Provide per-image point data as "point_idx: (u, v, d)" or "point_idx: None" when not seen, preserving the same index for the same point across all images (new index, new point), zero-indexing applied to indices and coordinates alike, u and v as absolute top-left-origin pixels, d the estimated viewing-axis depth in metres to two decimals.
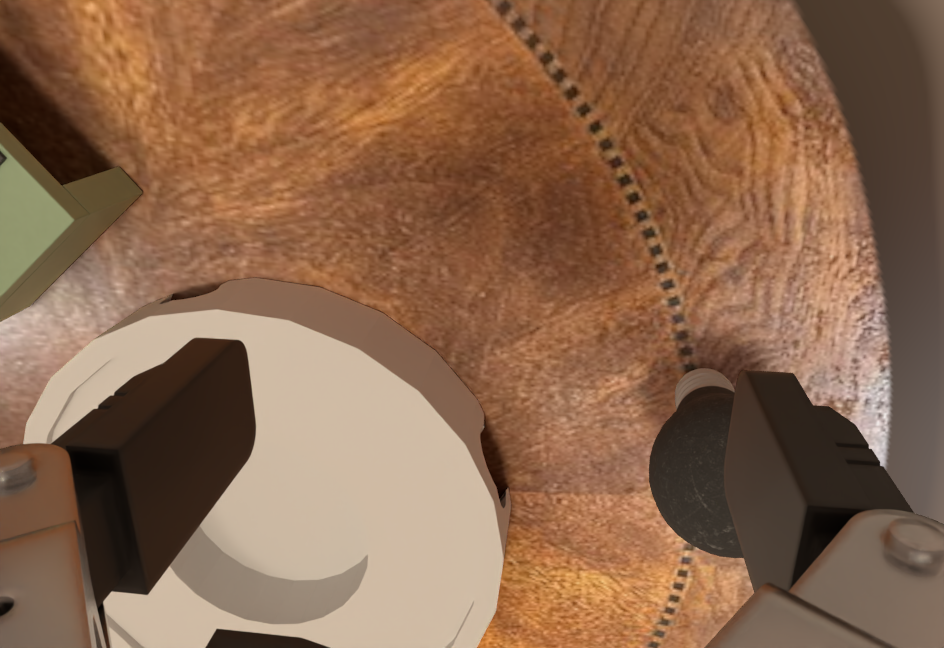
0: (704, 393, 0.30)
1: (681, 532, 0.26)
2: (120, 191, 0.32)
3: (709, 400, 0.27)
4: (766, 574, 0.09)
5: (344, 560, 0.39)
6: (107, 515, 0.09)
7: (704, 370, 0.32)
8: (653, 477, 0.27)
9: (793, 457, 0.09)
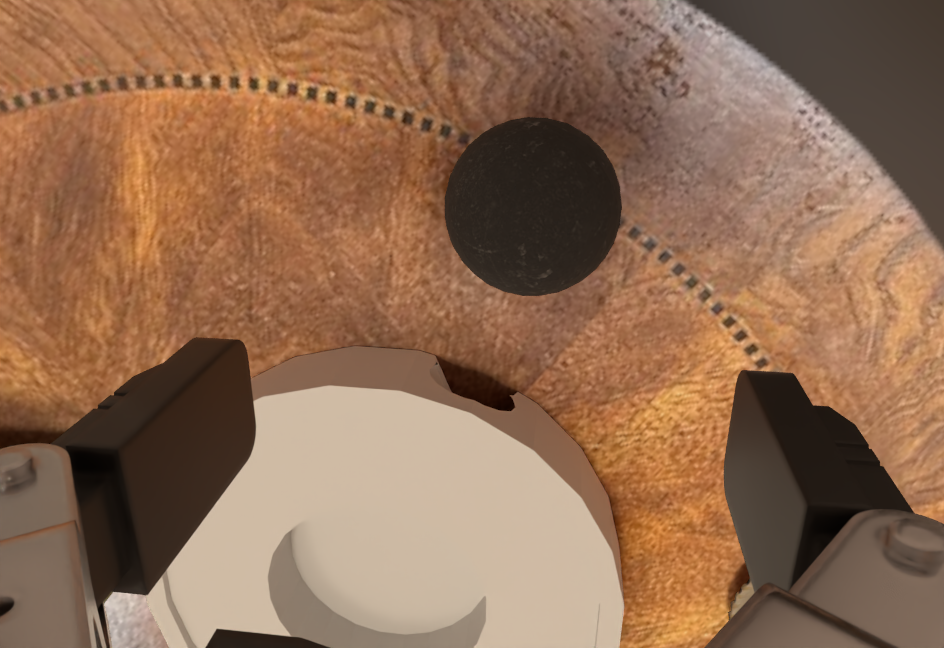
0: None
1: (524, 291, 0.23)
2: None
3: None
4: (766, 574, 0.09)
5: None
6: (107, 515, 0.09)
7: None
8: None
9: (793, 457, 0.09)
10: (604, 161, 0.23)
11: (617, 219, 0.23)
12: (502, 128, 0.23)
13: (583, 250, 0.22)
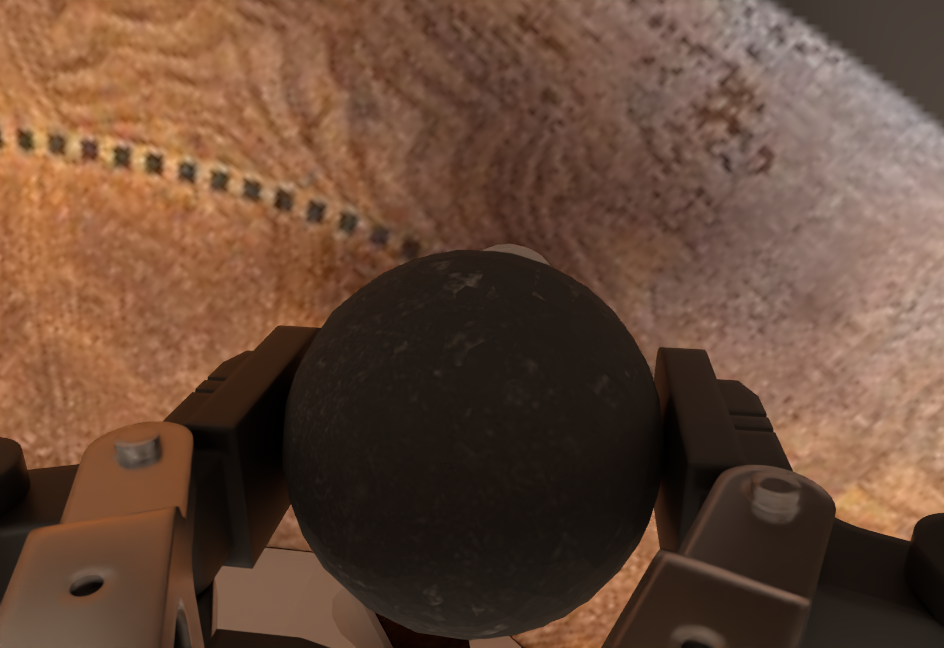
0: None
1: None
2: None
3: None
4: (666, 532, 0.10)
5: None
6: (221, 491, 0.10)
7: None
8: None
9: (686, 422, 0.10)
10: (629, 366, 0.10)
11: (657, 488, 0.10)
12: (397, 288, 0.10)
13: (579, 583, 0.09)
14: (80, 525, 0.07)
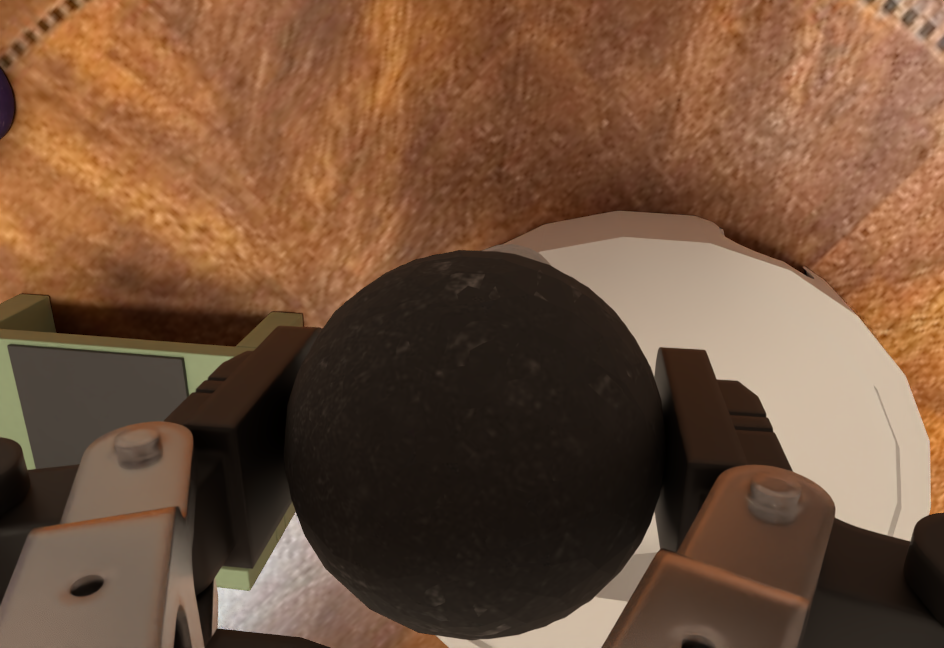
0: None
1: None
2: (283, 323, 0.33)
3: None
4: (666, 532, 0.10)
5: None
6: (221, 490, 0.10)
7: None
8: None
9: (686, 422, 0.10)
10: (631, 366, 0.10)
11: (659, 489, 0.10)
12: (399, 288, 0.10)
13: (582, 583, 0.09)
14: (80, 525, 0.07)
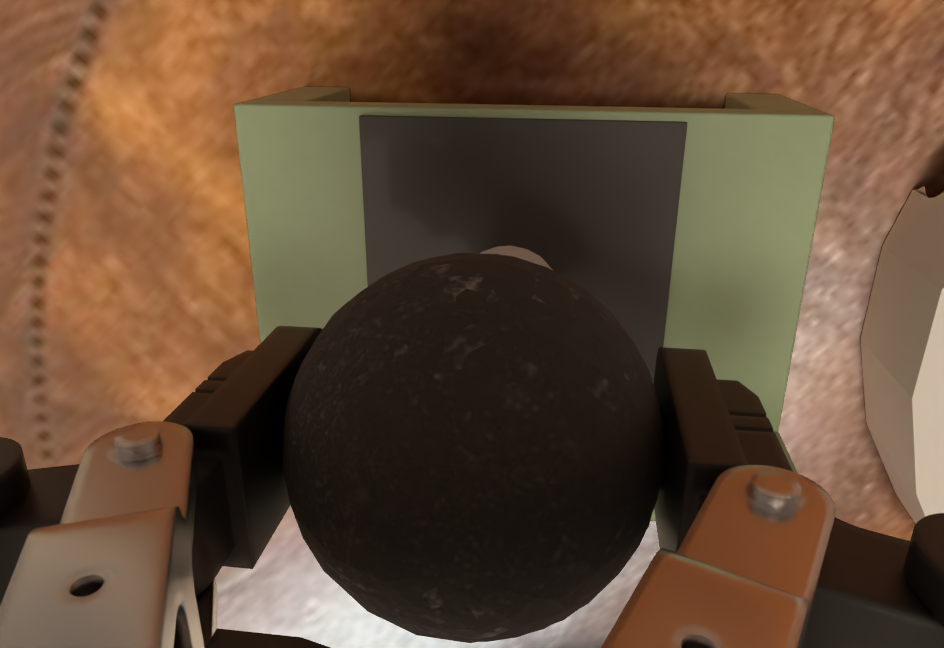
0: None
1: None
2: (776, 98, 0.20)
3: None
4: (666, 532, 0.10)
5: None
6: (221, 490, 0.10)
7: None
8: None
9: (686, 422, 0.10)
10: (629, 369, 0.10)
11: (656, 491, 0.10)
12: (397, 291, 0.10)
13: (579, 586, 0.09)
14: (80, 525, 0.07)
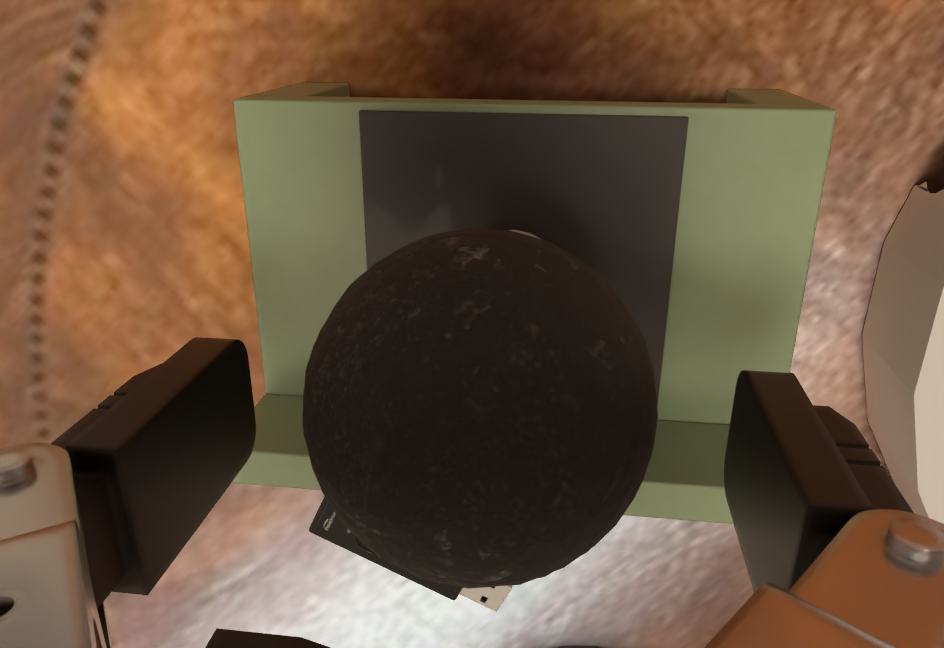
0: None
1: None
2: (777, 93, 0.20)
3: None
4: (766, 574, 0.09)
5: None
6: (107, 515, 0.09)
7: None
8: None
9: (793, 457, 0.09)
10: (624, 333, 0.11)
11: (650, 448, 0.11)
12: (410, 261, 0.11)
13: (579, 531, 0.10)
14: None
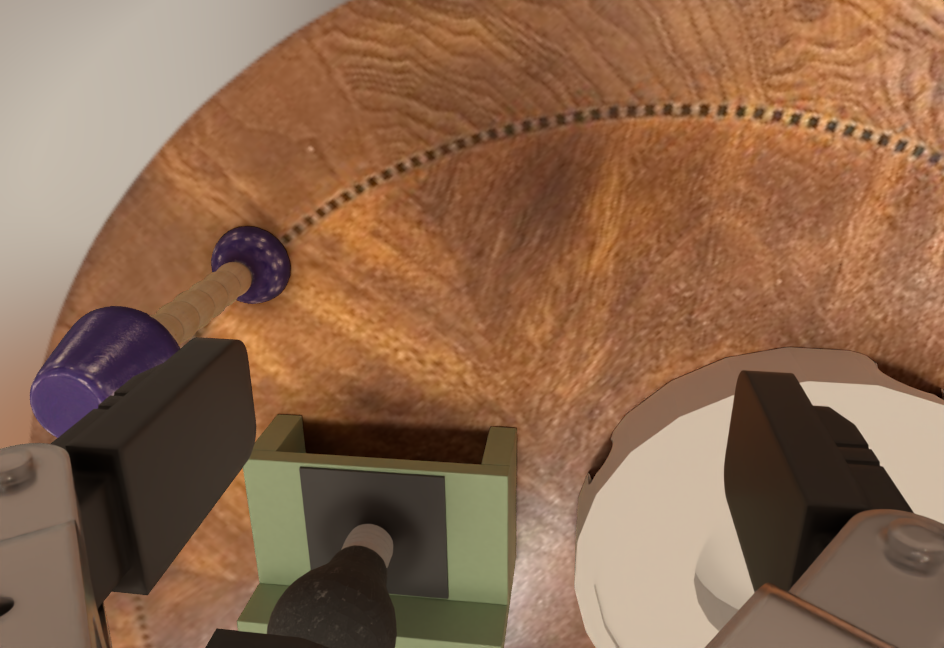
0: None
1: None
2: (506, 439, 0.41)
3: None
4: (766, 574, 0.09)
5: None
6: (107, 514, 0.09)
7: (351, 532, 0.39)
8: None
9: (793, 457, 0.09)
10: (373, 620, 0.32)
11: None
12: (301, 594, 0.32)
13: None
14: None
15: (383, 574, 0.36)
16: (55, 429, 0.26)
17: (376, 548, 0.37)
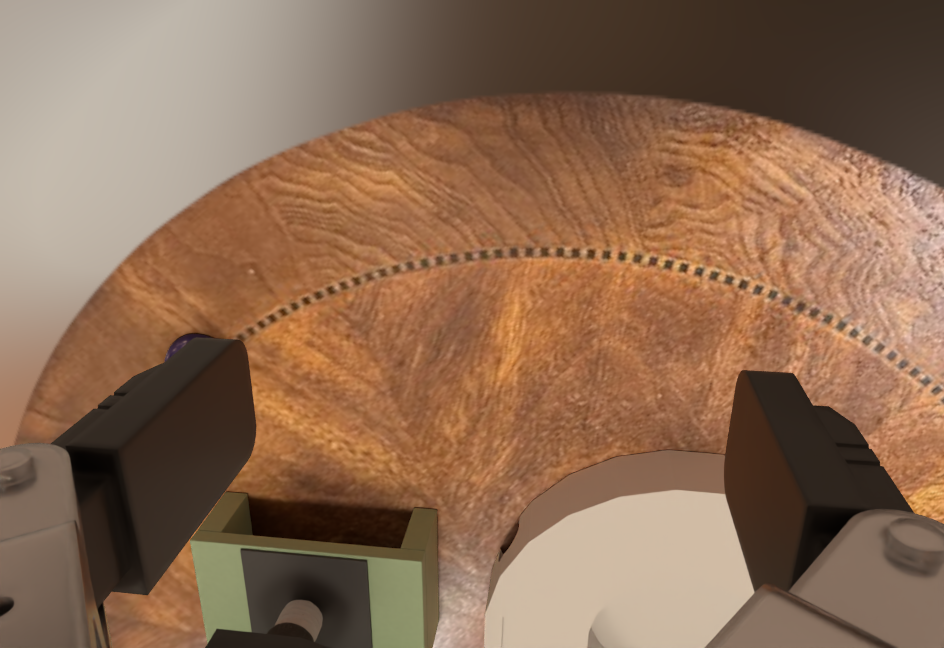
0: None
1: None
2: (426, 521, 0.46)
3: None
4: (766, 574, 0.09)
5: None
6: (107, 515, 0.09)
7: (285, 607, 0.44)
8: None
9: (793, 457, 0.09)
10: None
11: None
12: None
13: None
14: None
15: None
16: None
17: (305, 624, 0.42)
